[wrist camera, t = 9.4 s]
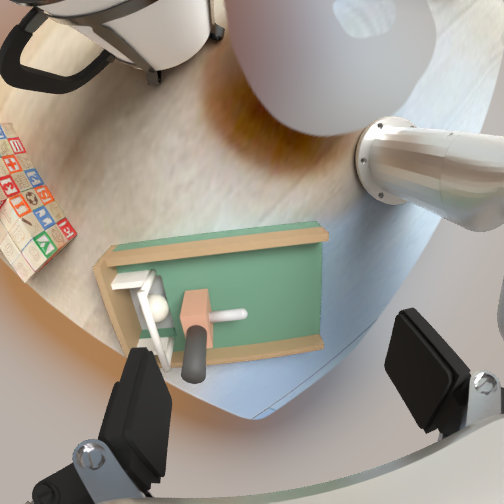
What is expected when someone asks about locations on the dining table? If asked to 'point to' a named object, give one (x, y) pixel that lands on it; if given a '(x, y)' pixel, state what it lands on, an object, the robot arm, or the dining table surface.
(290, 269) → the pitch
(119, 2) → the coffee press
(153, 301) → the ball
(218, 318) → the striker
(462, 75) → the dining table surface
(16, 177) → the stack of blocks
